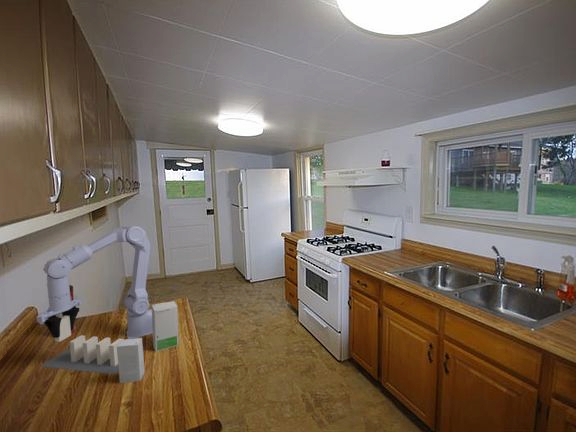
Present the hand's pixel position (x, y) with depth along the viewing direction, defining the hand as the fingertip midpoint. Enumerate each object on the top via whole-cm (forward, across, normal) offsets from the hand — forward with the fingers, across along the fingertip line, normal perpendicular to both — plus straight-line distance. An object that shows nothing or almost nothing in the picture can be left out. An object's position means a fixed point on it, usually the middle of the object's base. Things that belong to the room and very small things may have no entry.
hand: (63, 333), depth 99 cm
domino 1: (+2, 0, 0) cm, 2 cm away
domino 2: (+9, -1, +4) cm, 10 cm away
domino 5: (+9, -1, +19) cm, 21 cm away
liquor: (+10, -16, -17) cm, 26 cm away
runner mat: (+10, -1, +9) cm, 13 cm away
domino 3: (+9, -1, +9) cm, 13 cm away
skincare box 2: (+10, -14, +29) cm, 34 cm away
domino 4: (+9, -1, +14) cm, 17 cm away
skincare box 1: (+10, +5, +29) cm, 31 cm away
